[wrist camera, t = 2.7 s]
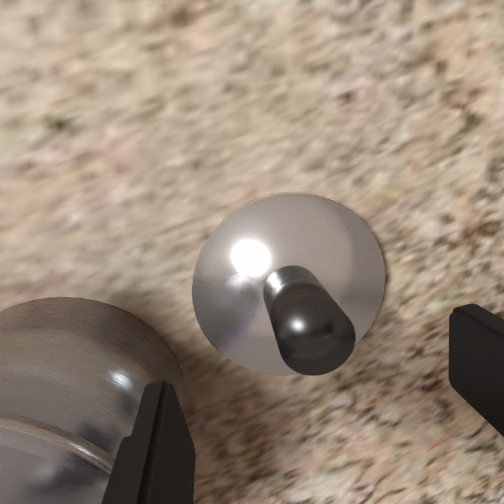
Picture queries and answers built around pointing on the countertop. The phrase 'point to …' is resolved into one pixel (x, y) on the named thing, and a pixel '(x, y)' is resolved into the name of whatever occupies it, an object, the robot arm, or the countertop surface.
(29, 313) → the pot
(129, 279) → the countertop surface
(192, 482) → the robot arm
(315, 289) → the lid
